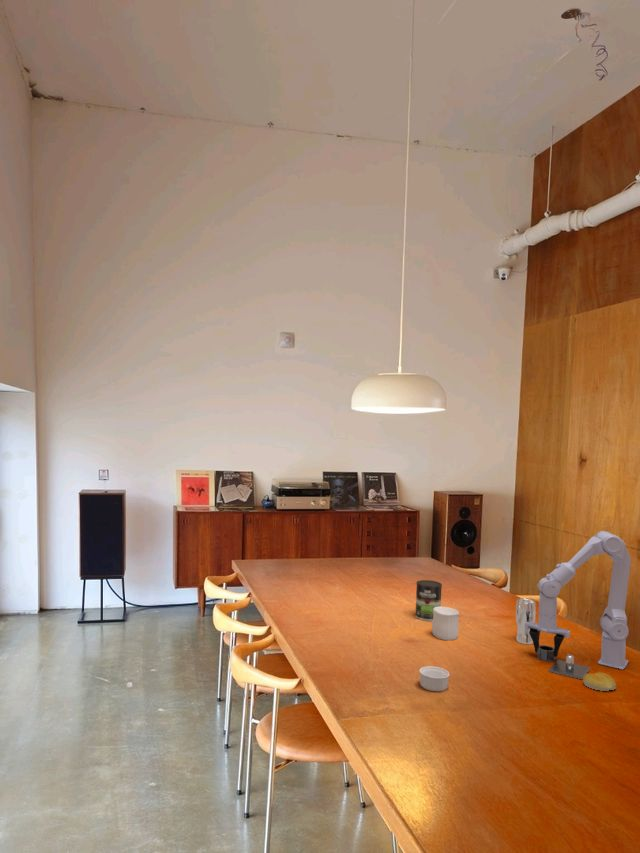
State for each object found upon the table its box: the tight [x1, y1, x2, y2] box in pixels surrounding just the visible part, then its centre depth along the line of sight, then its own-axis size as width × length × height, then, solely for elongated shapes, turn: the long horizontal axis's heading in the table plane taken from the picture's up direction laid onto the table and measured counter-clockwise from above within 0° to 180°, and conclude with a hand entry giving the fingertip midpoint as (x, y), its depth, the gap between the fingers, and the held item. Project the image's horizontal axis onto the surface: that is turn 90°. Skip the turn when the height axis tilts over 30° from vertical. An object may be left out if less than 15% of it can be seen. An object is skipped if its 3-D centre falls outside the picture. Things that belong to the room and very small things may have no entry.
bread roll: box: [582, 671, 617, 692], centre depth 183 cm, size 8×9×4 cm
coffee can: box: [415, 579, 443, 622], centre depth 246 cm, size 10×10×14 cm
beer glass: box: [515, 597, 537, 645], centre depth 221 cm, size 7×7×15 cm
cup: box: [431, 606, 460, 641], centre depth 224 cm, size 10×10×10 cm
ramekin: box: [418, 665, 450, 692], centre depth 179 cm, size 9×9×4 cm
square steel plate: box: [548, 654, 591, 680], centre depth 195 cm, size 11×10×5 cm
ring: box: [536, 644, 556, 663], centre depth 205 cm, size 6×6×4 cm
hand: (546, 653), depth 205 cm, fingers closed on ring, 6 cm apart
